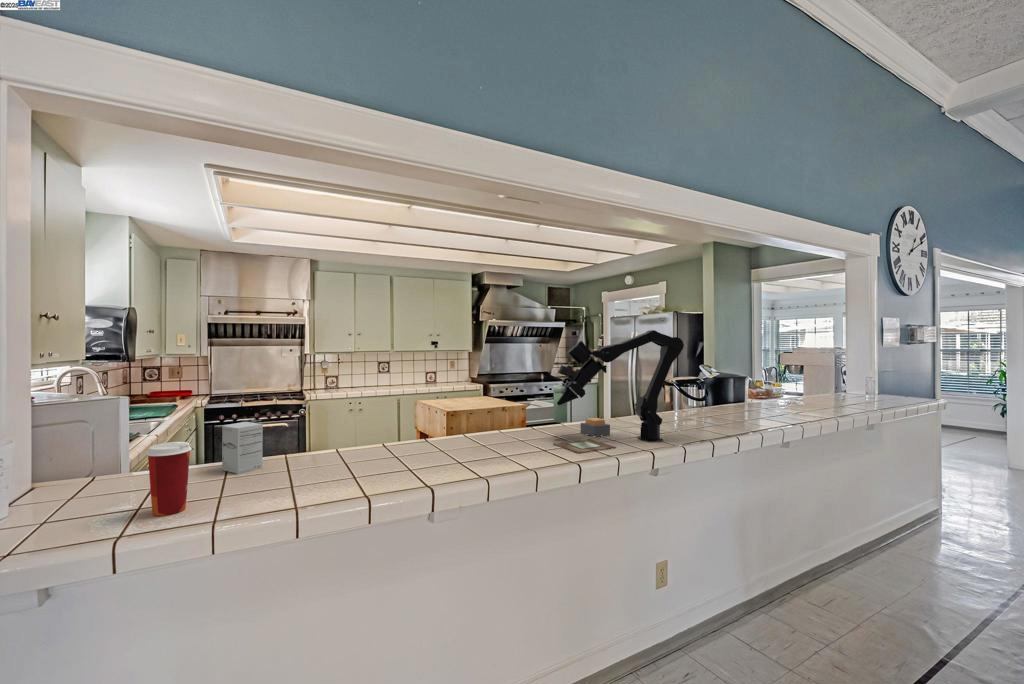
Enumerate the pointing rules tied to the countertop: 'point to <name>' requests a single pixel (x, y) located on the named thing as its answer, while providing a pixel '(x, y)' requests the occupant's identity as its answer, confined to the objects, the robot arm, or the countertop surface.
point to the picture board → (584, 445)
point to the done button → (595, 421)
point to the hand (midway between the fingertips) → (556, 403)
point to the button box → (595, 429)
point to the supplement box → (242, 447)
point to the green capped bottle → (559, 410)
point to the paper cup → (168, 477)
